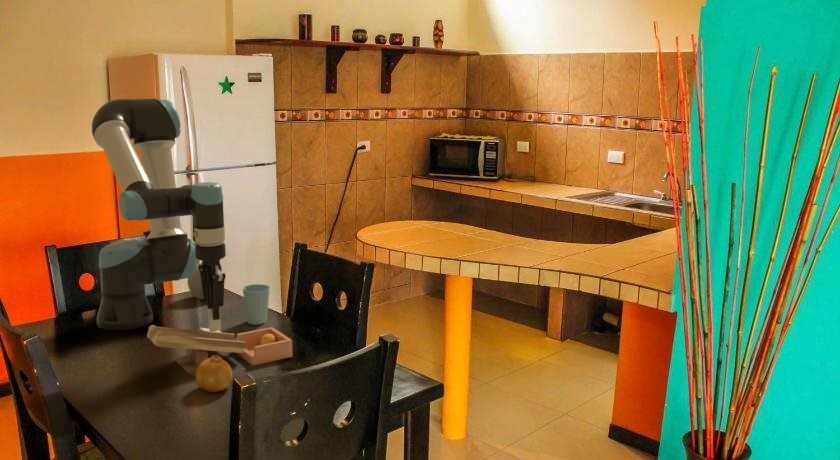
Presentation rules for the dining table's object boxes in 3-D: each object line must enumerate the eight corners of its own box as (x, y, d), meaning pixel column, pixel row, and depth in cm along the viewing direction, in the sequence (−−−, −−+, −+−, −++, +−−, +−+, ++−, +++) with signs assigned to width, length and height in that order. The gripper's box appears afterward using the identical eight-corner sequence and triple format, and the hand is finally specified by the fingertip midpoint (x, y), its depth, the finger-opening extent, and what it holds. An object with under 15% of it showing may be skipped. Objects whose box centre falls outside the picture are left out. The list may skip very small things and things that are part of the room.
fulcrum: (175, 360, 187) (174, 342, 186) (202, 355, 191) (202, 337, 190) (191, 376, 178) (191, 357, 177) (220, 370, 182) (219, 351, 181)
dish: (233, 350, 194) (233, 334, 194) (272, 342, 201) (272, 327, 200) (252, 365, 185) (252, 348, 184) (292, 356, 191) (292, 340, 190)
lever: (136, 326, 187) (139, 314, 187) (218, 333, 200) (220, 322, 200) (156, 346, 173) (160, 333, 173) (243, 352, 187) (246, 340, 187)
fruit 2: (244, 374, 173) (226, 346, 172) (228, 391, 166) (208, 361, 165) (218, 387, 176) (200, 359, 175) (201, 404, 169) (182, 375, 168)
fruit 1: (228, 294, 244) (227, 249, 241) (213, 304, 233) (211, 258, 230) (199, 291, 246) (197, 247, 243) (182, 301, 235) (180, 256, 232)
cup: (273, 324, 216) (272, 289, 214) (246, 327, 213) (245, 292, 210) (267, 316, 222) (266, 283, 220) (241, 319, 219) (240, 285, 217)
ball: (266, 328, 196) (274, 339, 198) (255, 339, 195) (263, 349, 197) (273, 333, 193) (281, 343, 195) (261, 343, 192) (269, 354, 193)
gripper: (186, 240, 194) (192, 326, 198) (204, 249, 183) (210, 340, 188) (214, 236, 198) (219, 320, 203) (233, 245, 188) (238, 334, 192)
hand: (215, 330), depth 195 cm, fingers closed
